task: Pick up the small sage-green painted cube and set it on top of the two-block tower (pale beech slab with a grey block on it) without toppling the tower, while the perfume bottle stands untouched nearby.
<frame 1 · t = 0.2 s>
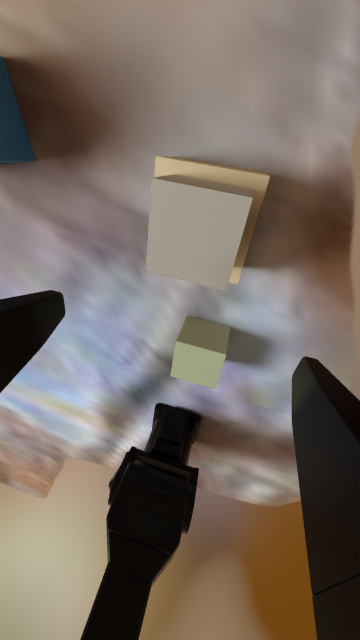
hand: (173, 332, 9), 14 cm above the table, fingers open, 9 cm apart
sage cube: (204, 337, 26), on the table
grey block: (204, 223, 16), point 4 cm above the table, touching beech slab
beech slab: (209, 215, 20), on the table, touching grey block
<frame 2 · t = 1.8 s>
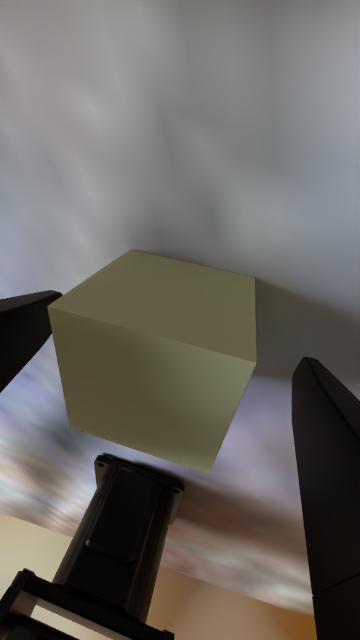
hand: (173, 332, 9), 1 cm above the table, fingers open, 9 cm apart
sage cube: (182, 315, 10), on the table
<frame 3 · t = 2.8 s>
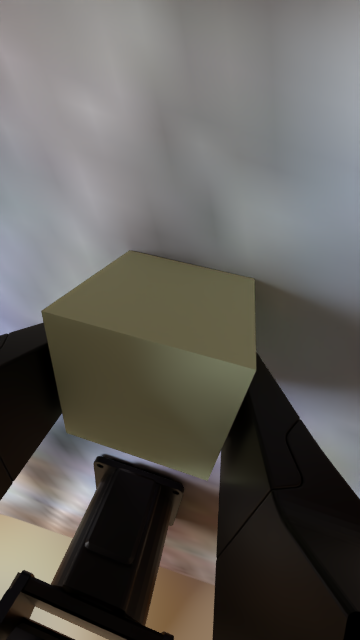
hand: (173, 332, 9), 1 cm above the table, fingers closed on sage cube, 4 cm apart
sage cube: (180, 317, 10), on the table, touching gripper
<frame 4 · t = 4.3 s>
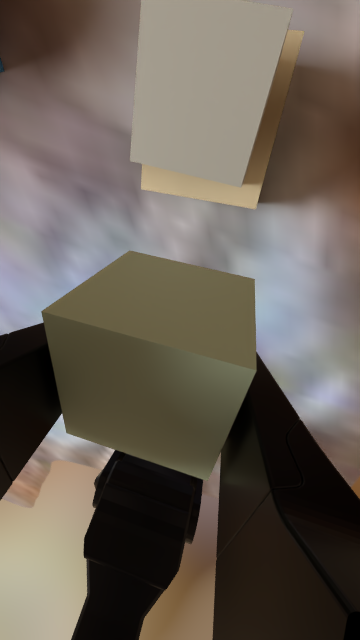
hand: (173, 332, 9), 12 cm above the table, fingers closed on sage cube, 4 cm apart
sage cube: (180, 317, 10), point 11 cm above the table, touching gripper
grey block: (211, 118, 13), point 4 cm above the table, touching beech slab
beech slab: (216, 134, 16), on the table, touching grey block
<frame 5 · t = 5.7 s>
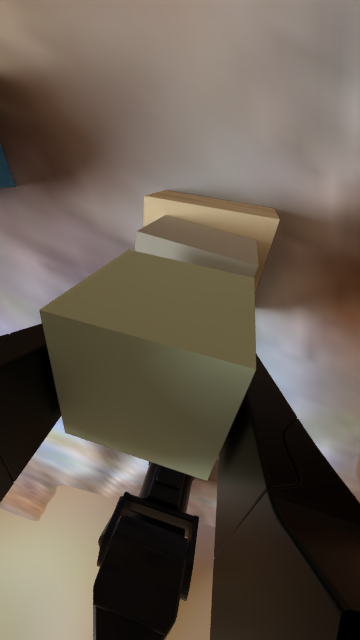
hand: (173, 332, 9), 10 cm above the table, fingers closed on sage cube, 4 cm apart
sage cube: (180, 317, 10), point 9 cm above the table, touching gripper
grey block: (198, 270, 14), point 4 cm above the table
beech slab: (208, 251, 18), on the table
when the fingers open (10 cm above the table, at t = 5.9 s): sage cube drops 2 cm, resting on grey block.
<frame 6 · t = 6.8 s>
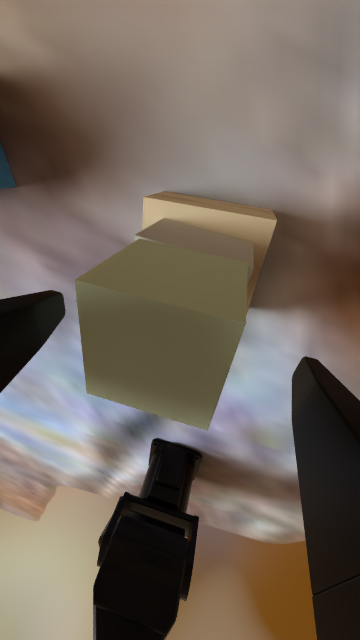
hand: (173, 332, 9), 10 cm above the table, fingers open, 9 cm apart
sage cube: (183, 298, 11), point 8 cm above the table, touching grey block
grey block: (196, 272, 15), point 4 cm above the table, touching beech slab, sage cube
beech slab: (207, 252, 18), on the table, touching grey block
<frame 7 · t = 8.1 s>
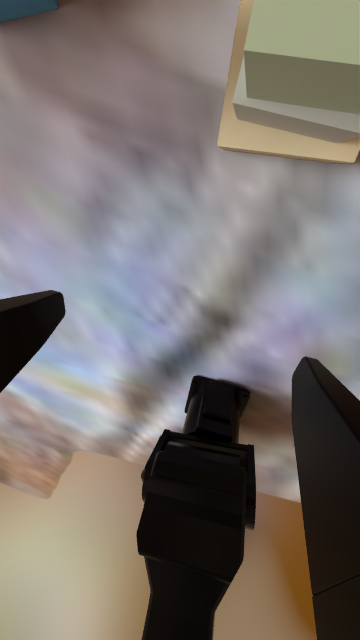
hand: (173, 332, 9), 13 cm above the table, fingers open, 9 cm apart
sage cube: (340, 13, 8), point 8 cm above the table, touching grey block
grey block: (310, 62, 11), point 4 cm above the table, touching beech slab, sage cube
beech slab: (296, 84, 14), on the table, touching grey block
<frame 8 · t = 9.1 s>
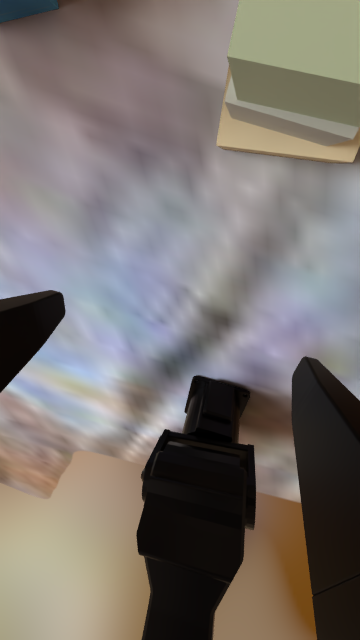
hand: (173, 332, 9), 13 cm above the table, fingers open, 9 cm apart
sage cube: (329, 22, 8), point 8 cm above the table, touching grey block
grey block: (304, 64, 11), point 4 cm above the table, touching beech slab, sage cube
beech slab: (295, 84, 14), on the table, touching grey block
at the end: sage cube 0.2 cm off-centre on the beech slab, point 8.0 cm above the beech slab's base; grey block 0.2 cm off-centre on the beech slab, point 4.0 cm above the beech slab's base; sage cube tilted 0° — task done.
